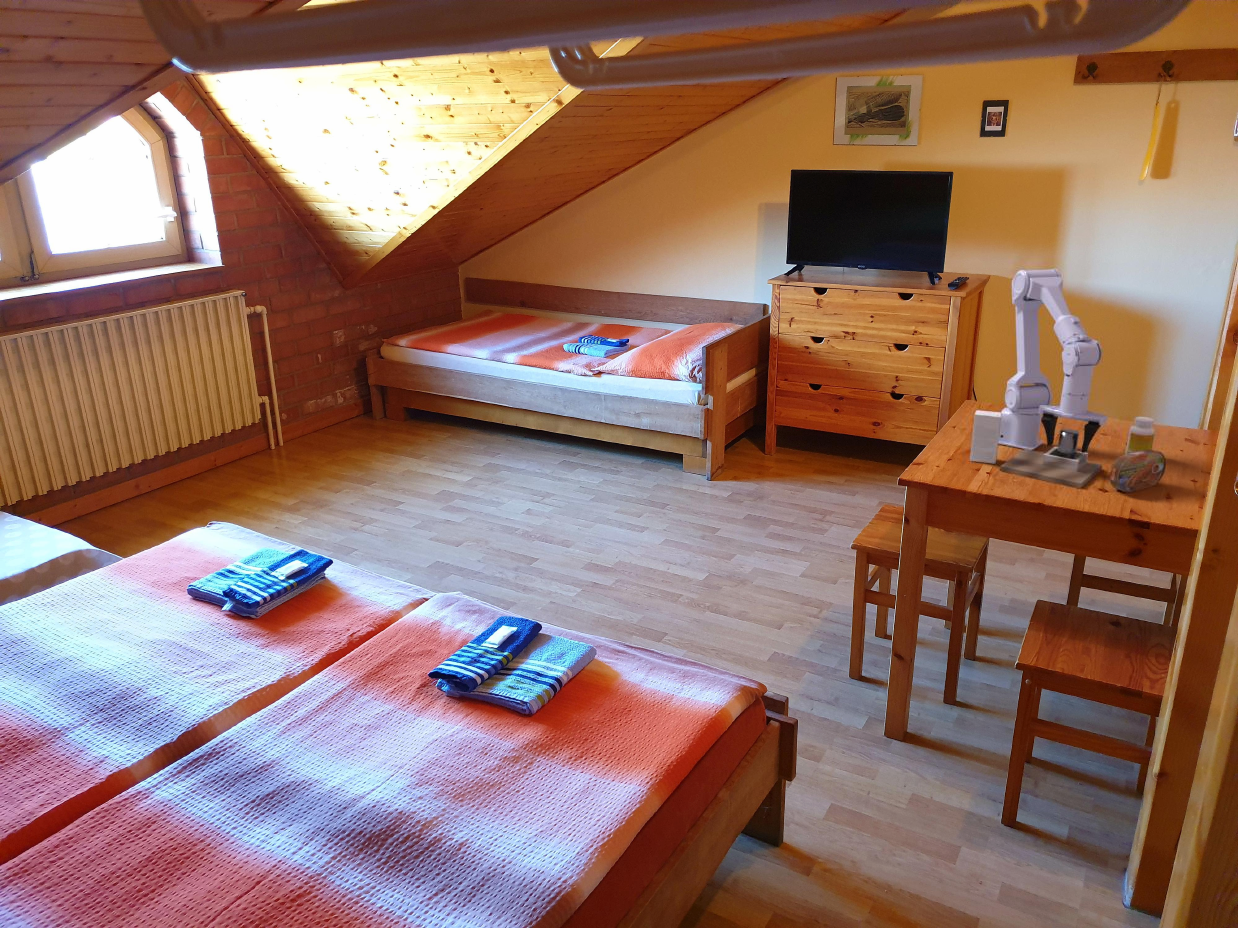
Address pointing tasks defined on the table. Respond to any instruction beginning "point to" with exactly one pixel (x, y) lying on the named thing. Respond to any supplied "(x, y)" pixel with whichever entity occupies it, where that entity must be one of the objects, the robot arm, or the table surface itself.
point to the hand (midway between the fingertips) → (1066, 448)
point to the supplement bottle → (1140, 435)
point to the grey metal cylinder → (1067, 443)
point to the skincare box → (985, 436)
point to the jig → (1053, 467)
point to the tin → (1137, 470)
